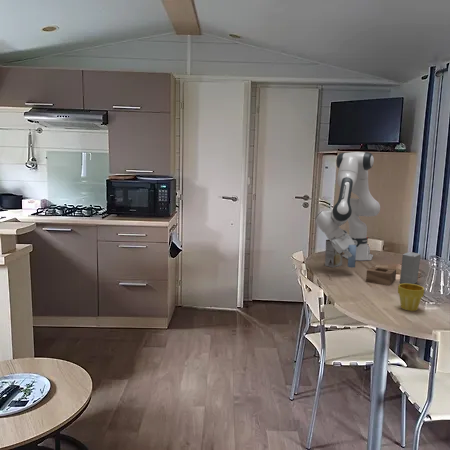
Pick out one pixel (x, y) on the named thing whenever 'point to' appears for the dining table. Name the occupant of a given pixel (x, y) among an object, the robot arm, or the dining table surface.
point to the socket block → (381, 275)
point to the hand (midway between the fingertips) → (353, 255)
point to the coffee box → (332, 256)
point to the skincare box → (410, 268)
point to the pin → (353, 258)
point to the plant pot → (410, 296)
